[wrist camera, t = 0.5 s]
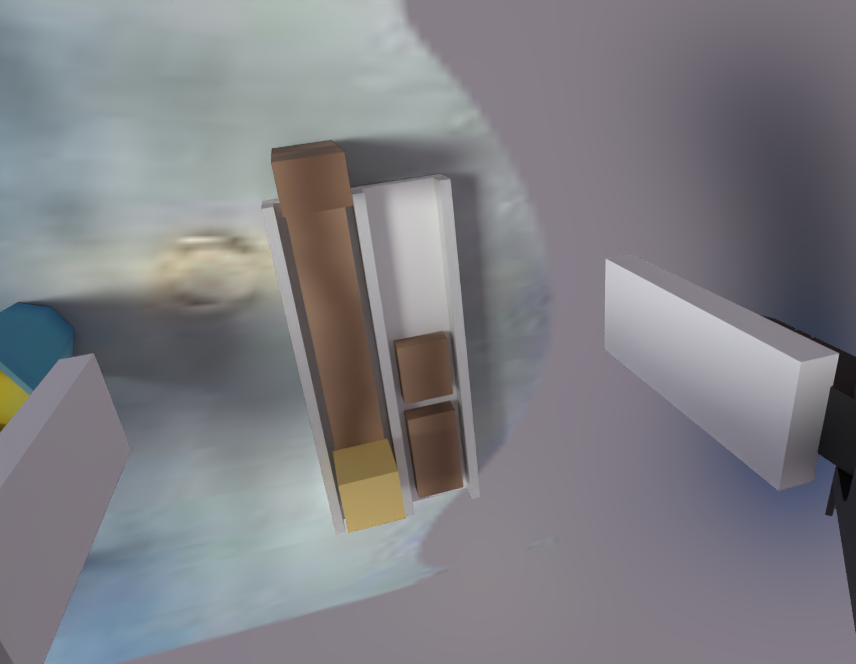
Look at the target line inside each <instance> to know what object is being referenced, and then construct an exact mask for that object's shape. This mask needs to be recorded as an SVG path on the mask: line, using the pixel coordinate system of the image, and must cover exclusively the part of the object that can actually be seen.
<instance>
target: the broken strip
mask: <svg viewBox="0 0 856 664" xmlns="http://www.w3.org/2000/svg"><path fill="white" fill-rule="evenodd" d="M393 342H394V349H395V355H396V362H397V368H398V375H399V382H400V388H401V395H402V398H403V400H404V402H405V405H407V404H411V403H416V402H420V401H424V400H429V399H433V398H438V397H442V396H447V395H451V394H453V386H452V377H451V367H450V358H449V349H448V340H447V337H446V336H445V334H444V333H443V331H438V332H434V333H429V334H424V335H419V336H414V337H409V338H404V339H399V340H394V341H393ZM404 415H405V421H406V428H407V435H408V441H409V448H410V455H411V461H412V468H413V474H414V481H415V487H416V490H417V493H418V496H419V498H423V497H427V496H431V495H435V494H439V493H443V492H447V491H451V490H455V489H459V488H463V478H462V469H461V460H460V450H459V441H458V432H457V423H456V414H455V409H454V407H453V405H452V403H451V402H450V400H449V401H445V402H440V403H436V404H432V405H427V406H423V407H418V408H414V409H409V410H405V411H404Z"/></svg>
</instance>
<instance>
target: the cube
mask: <svg viewBox="0 0 856 664" xmlns="http://www.w3.org/2000/svg"><path fill="white" fill-rule="evenodd" d="M333 456H334V463H335V469H336V475H337V481H338V487H339V492H340V496H341V501H342V505H343V510H344V515H345V519H346V524H347V528H348V533H350V532H354V531H358V530H362V529H366V528H369V527H373V526H377V525H381V524H385V523H389V522H393V521H397V520H400V519H404V518H406V516H405V510H404V504H403V498H402V492H401V485H400V479H399V473H398V469H397V466H396V463H395V460H394V457H393V454H392V451H391V447H390V444H389V441H388V439H384V440H380V441H375V442H371V443H367V444H362V445H358V446H354V447H349V448H345V449H341V450H337V451H333Z"/></svg>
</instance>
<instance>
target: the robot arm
mask: <svg viewBox="0 0 856 664" xmlns="http://www.w3.org/2000/svg"><path fill="white" fill-rule="evenodd" d="M604 333H605V334H604V349H605V350H606V351H607V352H608V353H610V354H611V355H612V356H613V357H615V358H616V359H617V360H618V361H620V362H621V363H622V364H623V365H624V366H626V367H627V368H628V369H629V370H631V371H632V372H633V373H634V374H636V375H637V376H638V377H639V378H640V379H642V380H643V381H644V382H645V383H647V384H648V385H649V386H650V387H652V388H653V389H654V390H655V391H656V392H658V393H659V394H660V395H661V396H663V397H664V398H665V399H666V400H668V401H669V402H670V403H671V404H672V405H674V406H675V407H676V408H678V409H679V410H680V411H681V412H682V413H684V414H685V415H686V416H687V417H688V418H690V419H691V420H692V421H693V422H695V423H696V424H697V425H698V426H700V427H701V428H702V429H703V430H705V431H706V432H707V433H709V435H711V436H712V437H713V438H714V439H716V440H717V441H718V442H719V443H720V444H722V445H723V446H724V447H725V448H727V449H728V450H729V451H730V452H732V453H733V454H734V455H735V456H736V457H738V458H739V459H740V460H742V461H743V462H744V463H745V464H746V465H748V466H749V467H750V468H751V469H752V470H754V471H755V472H756V473H758V474H759V475H760V476H761V477H762V478H764V479H765V480H766V481H767V482H768V483H770V484H771V485H772V486H773V487H775V488H776V489H777V490H778V491H780V490H783V489H787V488H791V487H794V486H798V485H802V484H805V483H809V482H813V480H814V476H815V471H816V466H817V461H818V456H819V454H820V455H822V456H823V457H824V458H826V459H827V460H829V461H830V462H832V463H833V464H835V465H836V468H835V473H834V477H833V482H832V486H831V491H830V495H829V500H828V505H827V509H826V513H825V514H826V515H829V516H832V515H833V512H834V509H836V510H837V516H838V523H839V529H840V536H841V542H842V548H843V555H844V561H845V567H846V574H847V580H848V587H849V593H850V599H851V605H852V612H853V618H854V625H855V631H856V357H855V356H853V355H850V354H848V353H846V352H844V351H842V350H840V349H838V348H836V347H833V346H831V345H829V344H827V343H825V342H823V341H821V340H819V339H817V338H811V336H810V335H808V334H806V333H804V332H802V331H800V330H797V331H795V328H793V327H791V326H789V325H787V324H785V323H783V322H781V321H778V320H776V319H773V318H769V317H766V316H761V315H758V314H756V313H754V312H752V311H750V310H748V309H745V308H743V307H741V306H739V305H737V304H735V303H733V302H731V301H729V300H727V299H725V298H722V297H720V296H718V295H716V294H714V293H712V292H710V291H708V290H706V289H704V288H701V287H699V286H697V285H695V284H693V283H691V282H689V281H687V280H685V279H683V278H681V277H679V276H676V275H674V274H672V273H670V272H668V271H666V270H664V269H662V268H660V267H657V266H656V265H653V264H651V263H649V262H647V261H645V260H643V259H641V258H639V257H637V256H635V255H633V254H628V255H623V256H617V257H612V258H607V259H606V277H605V332H604ZM130 451H131V448H130V446H129V443H128V440H127V438H126V435H125V433H124V430H123V427H122V425H121V422H120V420H119V417H118V414H117V412H116V409H115V407H114V404H113V401H112V399H111V396H110V394H109V391H108V388H107V386H106V383H105V381H104V378H103V375H102V373H101V370H100V368H99V365H98V363H97V360H96V357H95V355H94V353H92V354H87V355H81V356H76V357H71V358H65V359H60V360H58V362H57V363H56V364H55V365H54V366H53V368H52V369H51V370H50V371H49V373H48V374H47V375H46V376H45V378H44V379H43V380H42V381H41V383H40V384H39V385H38V386H37V388H36V389H35V390H34V391H33V393H32V394H31V395H30V396H29V398H28V399H27V400H26V401H25V402H24V404H23V405H22V406H21V407H20V409H19V410H18V411H17V412H16V414H15V415H14V416H13V417H12V419H11V420H10V421H9V422H8V424H7V425H6V426H5V427H4V429H3V430H2V431H1V432H0V664H44V661H45V659H46V657H47V654H48V652H49V649H50V647H51V644H52V642H53V639H54V637H55V635H56V632H57V630H58V627H59V625H60V622H61V620H62V617H63V615H64V613H65V610H66V608H67V605H68V603H69V600H70V598H71V595H72V593H73V591H74V588H75V586H76V583H77V581H78V578H79V576H80V573H81V571H82V568H83V566H84V564H85V561H86V559H87V556H88V554H89V551H90V549H91V546H92V544H93V542H94V539H95V537H96V534H97V532H98V529H99V527H100V524H101V522H102V520H103V517H104V515H105V512H106V510H107V507H108V505H109V502H110V500H111V498H112V495H113V493H114V490H115V488H116V485H117V483H118V480H119V478H120V475H121V473H122V471H123V468H124V466H125V463H126V461H127V458H128V456H129V453H130Z"/></svg>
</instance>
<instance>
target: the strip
mask: <svg viewBox="0 0 856 664" xmlns="http://www.w3.org/2000/svg"><path fill="white" fill-rule="evenodd" d="M271 164H272V169H273V174H274V178H275V183H276V188H277V192H278V197H279V201H280V206H281V211H282V215H283V217H286V221H287V225H288V230H289V235H290V239H291V244H292V249H293V253H294V258H295V263H296V267H297V272H298V277H299V281H300V286H301V291H302V295H303V300H304V305H305V309H306V314H307V319H308V323H309V328H310V333H311V337H312V342H313V347H314V351H315V356H316V361H317V365H318V370H319V375H320V379H321V384H322V389H323V393H324V398H325V403H326V407H327V412H328V417H329V421H330V426H331V431H332V435H333V440H334V445H335V449H336V451H337V450H341V449H345V448H349V447H354V446H358V445H362V444H367V443H371V442H375V441H380V440H384V439H385V438H384V433H383V427H382V421H381V415H380V409H379V403H378V397H377V392H376V386H375V380H374V374H373V368H372V362H371V356H370V351H369V345H368V339H367V333H366V327H365V321H364V316H363V310H362V304H361V298H360V292H359V286H358V280H357V275H356V269H355V263H354V257H353V251H352V245H351V239H350V234H349V228H348V222H347V216H346V210H345V207H350V206H353V201H352V194H351V188H350V182H349V176H348V170H347V164H346V158H345V152H344V151H343V150H342V149H341V148H340V147H339V146H338V145H337V144H335V143H334V142H333V141H332V140H329V141H322V142H314V143H307V144H300V145H293V146H286V147H279V148H272V153H271Z"/></svg>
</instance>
